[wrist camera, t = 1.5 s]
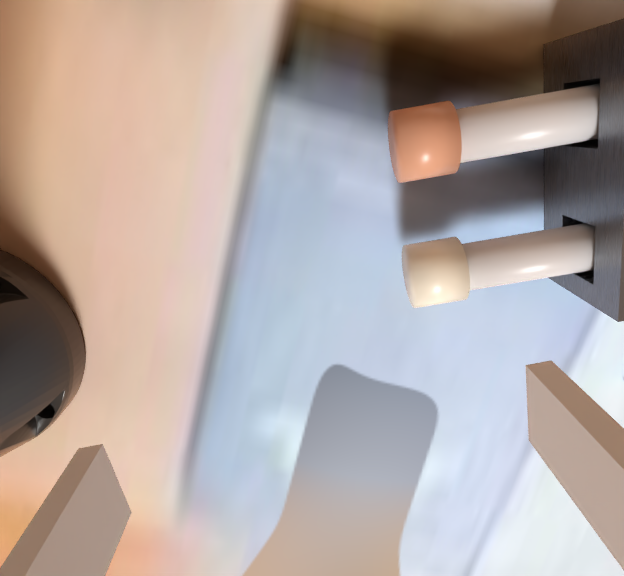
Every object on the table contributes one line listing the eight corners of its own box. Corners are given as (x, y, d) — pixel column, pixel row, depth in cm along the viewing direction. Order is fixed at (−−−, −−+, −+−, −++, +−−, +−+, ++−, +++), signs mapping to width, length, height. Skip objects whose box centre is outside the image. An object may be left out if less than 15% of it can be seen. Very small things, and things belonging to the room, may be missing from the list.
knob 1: (392, 178, 28) (406, 187, 24) (385, 111, 27) (398, 110, 23) (647, 134, 27) (699, 135, 24) (652, 63, 26) (707, 54, 23)
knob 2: (405, 295, 30) (419, 318, 27) (399, 238, 29) (412, 255, 26) (639, 256, 30) (685, 274, 26) (643, 197, 29) (692, 207, 25)
